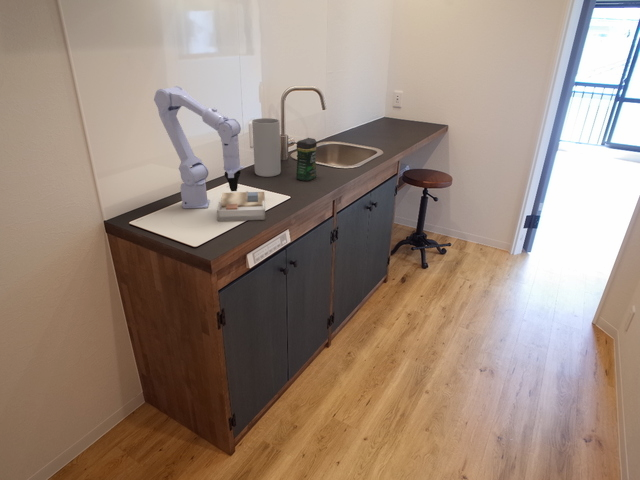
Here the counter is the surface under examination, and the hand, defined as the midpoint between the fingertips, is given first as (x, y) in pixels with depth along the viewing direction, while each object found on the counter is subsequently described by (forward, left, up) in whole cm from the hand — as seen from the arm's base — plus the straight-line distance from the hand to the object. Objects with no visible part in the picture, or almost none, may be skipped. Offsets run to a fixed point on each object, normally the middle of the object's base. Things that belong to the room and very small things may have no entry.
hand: (234, 190), depth 156 cm
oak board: (+3, +7, -8) cm, 11 cm away
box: (+3, -4, -8) cm, 10 cm away
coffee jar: (+31, +38, -9) cm, 50 cm away
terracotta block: (-1, -5, -7) cm, 8 cm away
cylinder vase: (+13, +47, -9) cm, 50 cm away
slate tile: (+7, +5, -6) cm, 10 cm away
